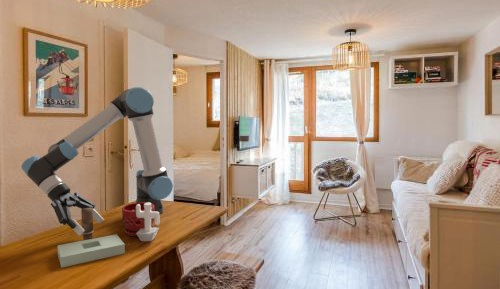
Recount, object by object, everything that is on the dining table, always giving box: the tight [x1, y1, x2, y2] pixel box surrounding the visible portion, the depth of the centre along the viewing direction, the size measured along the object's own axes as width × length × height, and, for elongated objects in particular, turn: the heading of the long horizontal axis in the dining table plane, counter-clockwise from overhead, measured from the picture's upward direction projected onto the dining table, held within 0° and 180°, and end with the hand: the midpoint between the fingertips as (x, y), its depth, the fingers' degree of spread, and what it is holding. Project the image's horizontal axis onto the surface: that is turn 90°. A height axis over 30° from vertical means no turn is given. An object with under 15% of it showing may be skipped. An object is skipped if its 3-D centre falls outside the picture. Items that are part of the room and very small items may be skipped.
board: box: [57, 233, 126, 268], centre depth 113 cm, size 20×12×4 cm, turn 126°
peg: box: [80, 208, 94, 241], centre depth 125 cm, size 4×4×13 cm
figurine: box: [136, 202, 161, 242], centre depth 128 cm, size 7×9×15 cm
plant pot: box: [121, 202, 155, 237], centre depth 135 cm, size 13×13×12 cm
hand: (92, 227), depth 125 cm, fingers open, 13 cm apart
